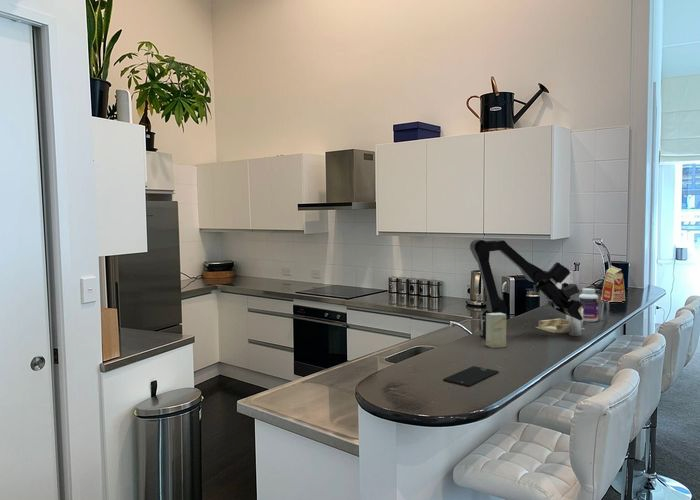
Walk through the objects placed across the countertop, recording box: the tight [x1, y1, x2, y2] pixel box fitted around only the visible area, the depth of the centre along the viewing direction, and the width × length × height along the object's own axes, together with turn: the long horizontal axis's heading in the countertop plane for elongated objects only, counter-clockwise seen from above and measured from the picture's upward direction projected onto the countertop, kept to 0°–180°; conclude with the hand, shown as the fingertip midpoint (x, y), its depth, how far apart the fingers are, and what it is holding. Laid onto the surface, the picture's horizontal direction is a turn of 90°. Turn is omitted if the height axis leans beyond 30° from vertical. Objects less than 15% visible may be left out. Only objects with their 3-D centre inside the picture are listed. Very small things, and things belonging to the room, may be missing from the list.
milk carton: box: [600, 265, 626, 303], centre depth 285 cm, size 9×9×20 cm
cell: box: [568, 306, 582, 337], centre depth 207 cm, size 5×5×14 cm
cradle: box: [534, 318, 585, 334], centre depth 219 cm, size 16×11×3 cm
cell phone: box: [442, 365, 500, 388], centre depth 155 cm, size 9×18×1 cm, turn 137°
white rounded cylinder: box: [565, 308, 584, 326], centre depth 229 cm, size 7×7×7 cm
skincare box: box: [485, 313, 507, 349], centre depth 191 cm, size 6×4×12 cm
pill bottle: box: [578, 287, 599, 323], centre depth 235 cm, size 8×8×14 cm
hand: (578, 318), depth 207 cm, fingers closed on cell, 5 cm apart
